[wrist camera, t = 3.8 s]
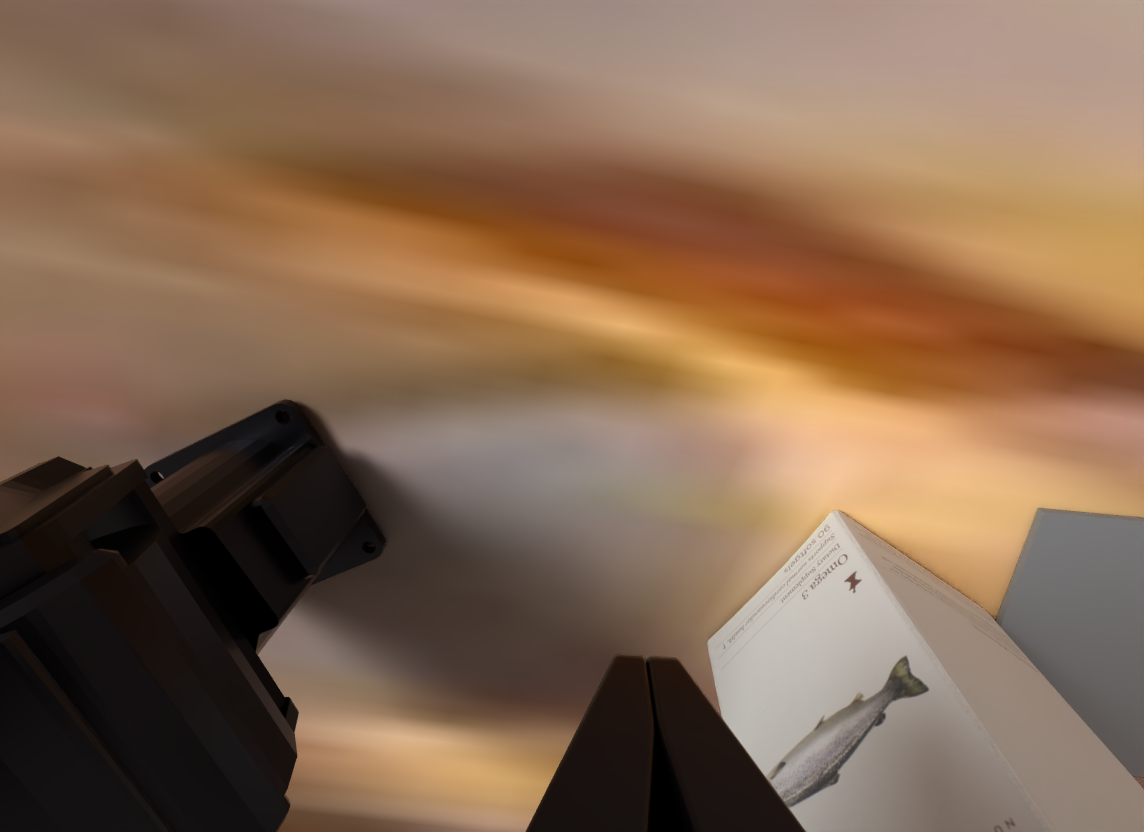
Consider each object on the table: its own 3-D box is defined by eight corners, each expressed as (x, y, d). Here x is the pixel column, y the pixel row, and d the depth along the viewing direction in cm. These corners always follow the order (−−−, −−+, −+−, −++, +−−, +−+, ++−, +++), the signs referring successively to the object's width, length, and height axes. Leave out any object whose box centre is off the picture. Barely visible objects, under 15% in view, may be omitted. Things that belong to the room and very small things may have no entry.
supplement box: (832, 499, 21) (1110, 886, 9) (987, 607, 22) (1411, 1074, 11) (697, 639, 24) (785, 1089, 12) (844, 730, 25) (1060, 1228, 13)
